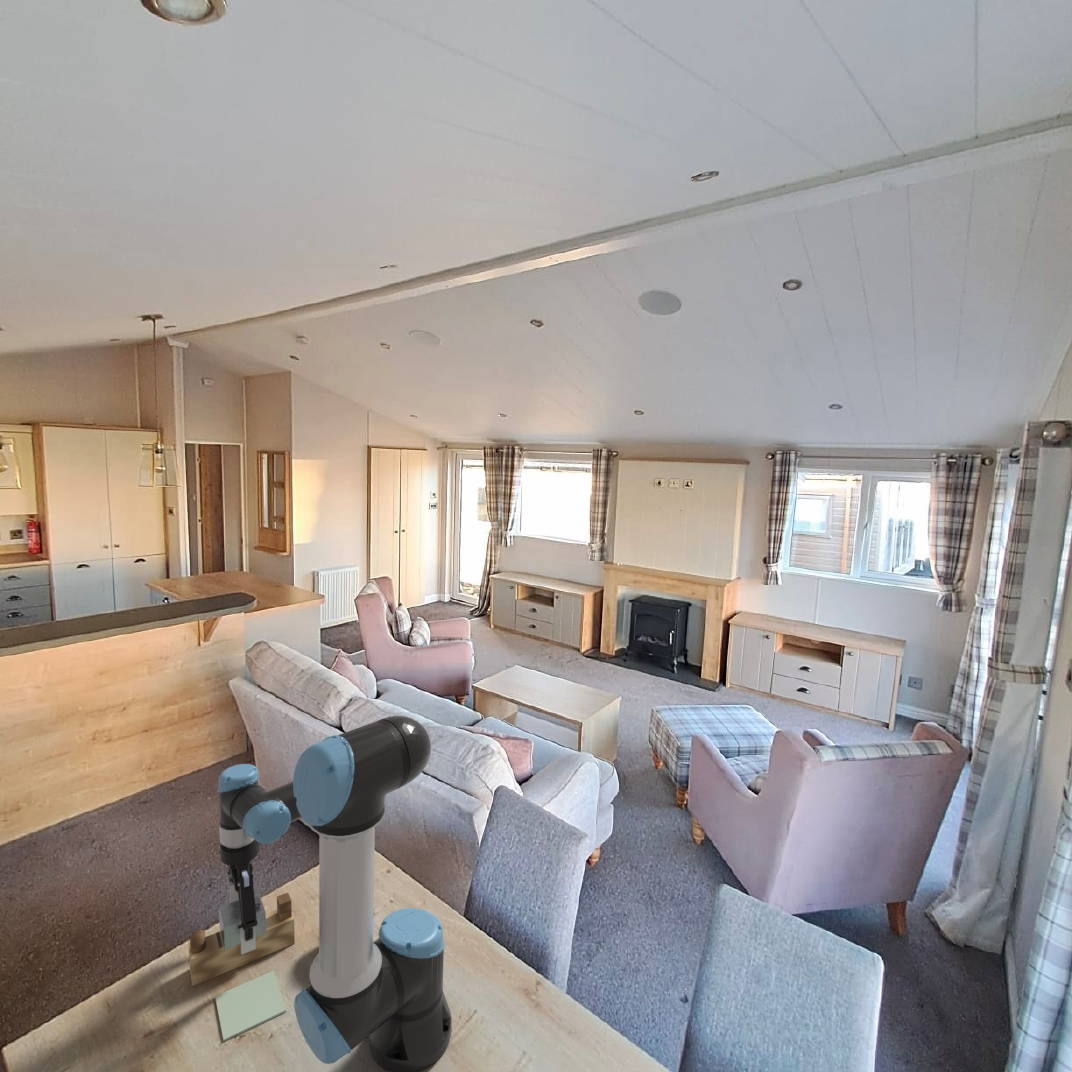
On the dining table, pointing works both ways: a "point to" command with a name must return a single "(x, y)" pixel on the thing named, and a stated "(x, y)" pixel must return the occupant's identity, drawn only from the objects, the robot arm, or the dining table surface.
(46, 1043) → the dining table surface
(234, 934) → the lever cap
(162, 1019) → the dining table surface
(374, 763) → the robot arm
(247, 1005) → the felt pad
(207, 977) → the plane body
